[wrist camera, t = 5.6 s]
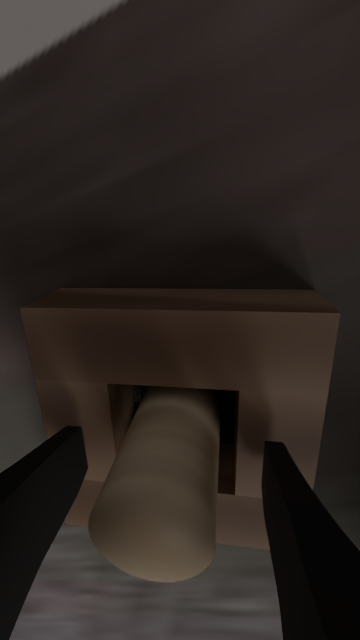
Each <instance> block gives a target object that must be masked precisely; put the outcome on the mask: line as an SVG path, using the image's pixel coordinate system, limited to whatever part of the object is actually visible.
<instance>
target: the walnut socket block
mask: <svg viewBox="0 0 360 640" xmlns="http://www.w3.org/2000/svg"><path fill="white" fill-rule="evenodd" d="M19 308H20V313H21V317H22V322H23V327H24V331H25V336H26V341H27V346H28V350H29V355H30V360H31V364H32V369H33V374H34V378H35V383H36V388H37V392H38V397H39V402H40V407H41V411H42V416H43V421H44V425H45V430H46V435H47V439H49V438H50V437H52V436H53V435H54V434H56V433H57V432H59V431H60V430H61V429H63V428H64V427H66V426H67V425H68V426H81V427H82V432H83V438H84V444H85V450H86V456H87V462H88V470H87V473H86V475H85V478H84V481H83V483H82V486H81V488H80V490H79V493H78V495H77V497H76V499H75V501H74V503H73V505H72V507H71V508H70V510H69V512H68V514H67V516H66V518H65V524H68V525H76V526H83V527H88V522H89V516H90V513H91V511H92V508H93V506H94V504H95V502H96V500H97V497H98V495H99V493H100V491H101V489H102V486H103V484H104V482H105V480H106V478H107V475H108V473H109V471H110V469H111V466H112V464H113V462H114V460H115V458H116V455H117V453H118V451H119V449H120V447H121V444H122V442H123V440H124V438H125V436H126V433H127V431H128V429H129V427H130V424H131V422H132V420H133V418H134V416H135V413H136V411H135V400H134V389H133V385H144V386H162V387H180V388H198V389H217V390H235V391H236V400H235V427H234V444H231V443H219V467H218V493H217V520H216V543H217V544H225V545H233V546H240V547H248V548H256V549H264V550H270V547H269V541H268V536H267V530H266V525H265V519H264V512H263V500H262V487H261V481H262V469H263V456H264V443H265V441H275V442H283V443H284V444H285V446H286V448H287V449H288V451H289V453H290V455H291V457H292V458H293V460H294V462H295V464H296V465H297V467H298V468H299V470H300V472H301V473H302V475H303V476H304V478H305V480H306V481H307V483H308V484H309V486H310V487H311V488H312V490H313V489H314V482H315V476H316V470H317V463H318V457H319V450H320V444H321V437H322V431H323V424H324V418H325V411H326V405H327V398H328V392H329V385H330V379H331V372H332V366H333V359H334V353H335V346H336V340H337V334H338V327H339V321H340V314H341V313H340V312H339V311H338V310H337V309H336V308H335V307H334V306H332V305H331V304H330V303H329V302H328V301H327V300H326V299H325V298H324V297H323V296H322V295H321V294H320V293H318V292H317V291H316V290H298V289H163V288H59V289H57V290H55V291H53V292H51V293H49V294H47V295H45V296H42V297H40V298H38V299H36V300H34V301H32V302H30V303H28V304H26V305H23V306H21V307H19Z"/></svg>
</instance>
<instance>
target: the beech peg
mask: <svg viewBox="0 0 360 640" xmlns="http://www.w3.org/2000/svg"><path fill="white" fill-rule="evenodd" d="M220 414H221V392H220V390H217V389H198V388H180V387H162V386H148V387H147V389H146V391H145V394H144V396H143V398H142V400H141V402H140V405H139V407H138V409H137V411H136V413H135V416H134V418H133V420H132V422H131V424H130V427H129V429H128V431H127V433H126V436H125V438H124V440H123V442H122V444H121V447H120V449H119V451H118V453H117V455H116V458H115V460H114V462H113V464H112V466H111V469H110V471H109V473H108V475H107V478H106V480H105V482H104V484H103V486H102V489H101V491H100V493H99V495H98V497H97V500H96V502H95V504H94V506H93V508H92V511H91V513H90V516H89V522H88V527H89V533H90V537H91V539H92V542H93V543H94V545H95V547H96V548H97V549H98V551H99V552H100V553H101V554H102V555H103V556H104V558H106V559H107V560H108V561H109V562H110V563H112V564H113V565H114V566H116V567H117V568H119V569H121V570H122V571H124V572H126V573H128V574H131V575H133V576H136V577H139V578H142V579H146V580H151V581H157V582H176V581H182V580H186V579H190V578H192V577H194V576H196V575H198V574H200V573H201V572H203V571H204V570H205V569H206V568H207V567H208V566H209V565H210V563H211V561H212V560H213V557H214V554H215V547H216V520H217V493H218V467H219V440H220Z"/></svg>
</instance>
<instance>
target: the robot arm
mask: <svg viewBox="0 0 360 640" xmlns="http://www.w3.org/2000/svg"><path fill="white" fill-rule="evenodd" d="M87 470H88V462H87V456H86V450H85V444H84V438H83V432H82V427H81V426H68V425H67V426H66V427H64V428H63V429H61V430H60V431H59V432H57V433H56V434H54V435H53V436H52V437H50V438H49V439H48V440H46V441H45V442H44V443H42V444H41V445H40V446H38V447H37V448H36V449H34V450H33V451H31V452H30V453H29V454H27V455H26V456H25V457H23V458H22V459H20V460H19V461H18V462H16V463H15V464H13V465H12V466H10V467H9V468H7V469H6V470H4V471H3V472H1V473H0V640H9V638H10V636H11V633H12V631H13V628H14V626H15V623H16V621H17V618H18V616H19V614H20V611H21V609H22V606H23V604H24V601H25V599H26V597H27V595H28V592H29V590H30V588H31V585H32V583H33V581H34V578H35V576H36V574H37V571H38V569H39V567H40V565H41V563H42V561H43V559H44V557H45V555H46V553H47V551H48V550H49V548H50V546H51V544H52V542H53V540H54V538H55V537H56V535H57V533H58V531H59V529H60V527H61V525H62V523H63V522H64V520H65V518H66V516H67V514H68V512H69V510H70V508H71V507H72V505H73V503H74V501H75V499H76V497H77V495H78V493H79V490H80V488H81V486H82V483H83V481H84V478H85V475H86V473H87ZM261 487H262V500H263V512H264V519H265V525H266V530H267V536H268V541H269V547H270V552H271V558H272V563H273V569H274V574H275V580H276V585H277V591H278V598H279V605H280V613H281V623H282V632H283V640H360V551H359V549H358V548H357V547H356V546H355V545H354V544H353V542H352V541H351V540H350V539H349V538H348V537H347V535H346V534H345V533H344V532H343V530H342V529H341V528H340V527H339V525H338V524H337V523H336V522H335V520H334V519H333V518H332V516H331V515H330V514H329V512H328V511H327V510H326V508H325V507H324V506H323V504H322V503H321V501H320V500H319V499H318V497H317V496H316V494H315V493H314V491H313V490H312V488H311V487H310V486H309V484H308V483H307V481H306V480H305V478H304V476H303V475H302V473H301V472H300V470H299V468H298V467H297V465H296V464H295V462H294V460H293V458H292V457H291V455H290V453H289V451H288V449H287V448H286V446H285V444H284V443H283V442H275V441H265V443H264V456H263V469H262V481H261Z"/></svg>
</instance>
